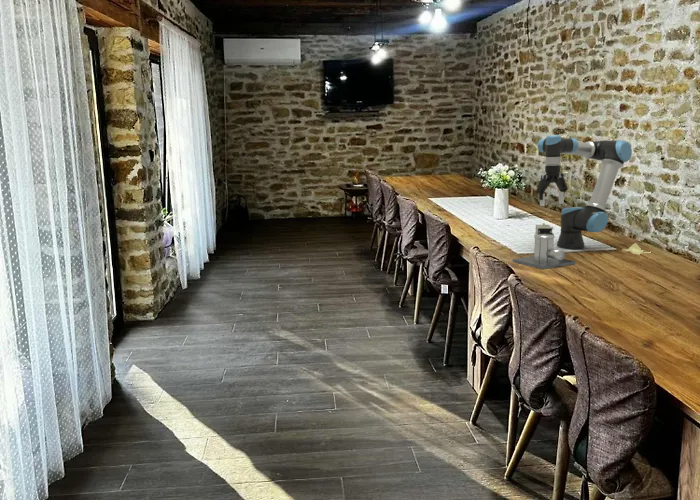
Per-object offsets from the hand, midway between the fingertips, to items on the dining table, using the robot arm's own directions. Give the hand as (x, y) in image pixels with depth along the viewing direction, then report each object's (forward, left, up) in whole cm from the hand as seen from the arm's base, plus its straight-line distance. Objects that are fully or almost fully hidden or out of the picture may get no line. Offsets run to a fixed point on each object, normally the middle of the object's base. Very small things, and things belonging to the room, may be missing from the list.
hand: (551, 205), depth 325 cm
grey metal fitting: (+14, +10, -27) cm, 32 cm away
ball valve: (-1, -5, -29) cm, 29 cm away
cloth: (-53, +12, -31) cm, 62 cm away
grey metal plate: (+14, +10, -28) cm, 33 cm away
